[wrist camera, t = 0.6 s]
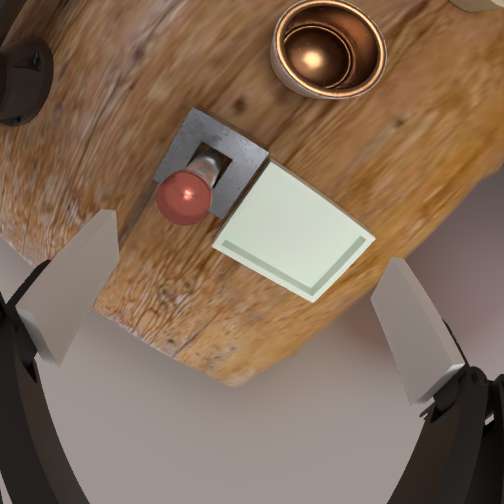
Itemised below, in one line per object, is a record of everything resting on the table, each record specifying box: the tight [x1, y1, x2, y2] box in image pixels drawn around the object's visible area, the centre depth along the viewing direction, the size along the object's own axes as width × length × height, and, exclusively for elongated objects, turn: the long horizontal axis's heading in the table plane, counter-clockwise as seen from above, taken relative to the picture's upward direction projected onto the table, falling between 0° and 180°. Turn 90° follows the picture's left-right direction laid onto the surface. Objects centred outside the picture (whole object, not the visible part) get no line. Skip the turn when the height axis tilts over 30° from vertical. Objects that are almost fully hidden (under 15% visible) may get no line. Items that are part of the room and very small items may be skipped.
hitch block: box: [153, 106, 269, 220], centre depth 33 cm, size 10×10×4 cm
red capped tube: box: [157, 146, 226, 225], centre depth 28 cm, size 4×4×15 cm
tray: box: [212, 157, 376, 303], centre depth 39 cm, size 18×14×2 cm
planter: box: [270, 0, 387, 99], centre depth 23 cm, size 11×11×10 cm
